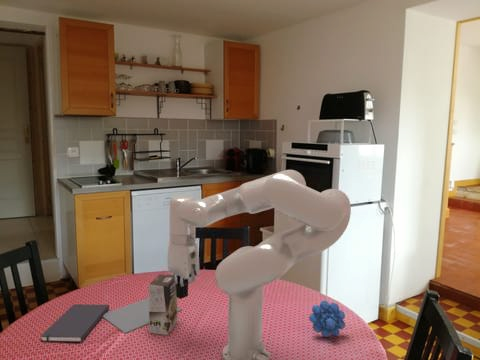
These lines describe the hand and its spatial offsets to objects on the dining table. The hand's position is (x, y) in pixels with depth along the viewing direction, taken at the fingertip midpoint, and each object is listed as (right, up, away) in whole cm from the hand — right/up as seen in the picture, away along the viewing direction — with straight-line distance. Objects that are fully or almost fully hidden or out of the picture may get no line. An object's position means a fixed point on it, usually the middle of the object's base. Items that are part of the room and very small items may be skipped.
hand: (182, 296), depth 119 cm
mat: (-17, -11, +18) cm, 26 cm away
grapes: (+44, -14, +3) cm, 47 cm away
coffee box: (-7, -13, +9) cm, 17 cm away
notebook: (-35, -12, +9) cm, 38 cm away
